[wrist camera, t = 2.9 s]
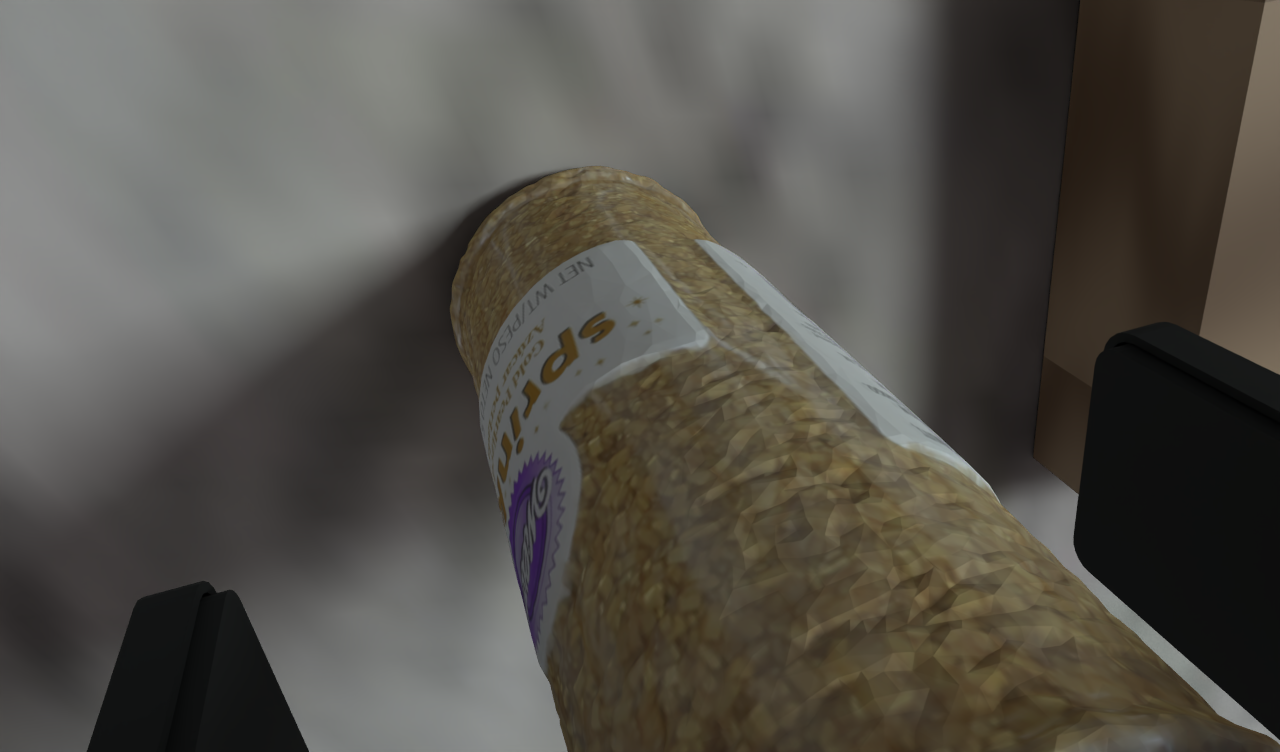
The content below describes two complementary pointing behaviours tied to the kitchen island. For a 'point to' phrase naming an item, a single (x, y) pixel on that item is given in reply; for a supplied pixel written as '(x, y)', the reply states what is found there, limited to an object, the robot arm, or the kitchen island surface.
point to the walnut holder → (1163, 195)
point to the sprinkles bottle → (762, 516)
